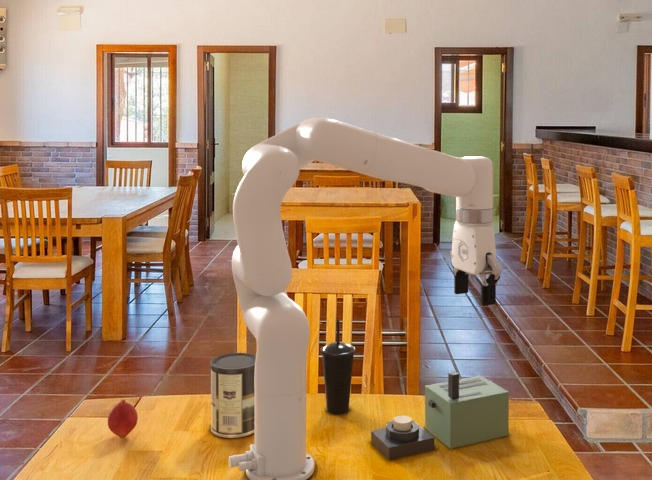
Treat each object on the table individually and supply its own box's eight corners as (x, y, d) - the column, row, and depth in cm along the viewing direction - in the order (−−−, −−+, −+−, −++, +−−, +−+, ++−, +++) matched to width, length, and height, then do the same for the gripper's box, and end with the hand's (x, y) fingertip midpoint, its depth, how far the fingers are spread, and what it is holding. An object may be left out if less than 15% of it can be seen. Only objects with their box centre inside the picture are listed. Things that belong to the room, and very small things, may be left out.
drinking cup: (351, 418, 152) (351, 326, 152) (316, 415, 154) (316, 324, 154) (358, 404, 160) (358, 316, 160) (325, 401, 161) (325, 314, 161)
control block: (389, 460, 134) (389, 439, 134) (371, 442, 142) (371, 422, 142) (434, 449, 138) (434, 429, 138) (414, 433, 146) (414, 413, 146)
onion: (101, 440, 142) (101, 400, 142) (123, 428, 148) (123, 390, 147) (122, 446, 140) (122, 406, 140) (143, 434, 145) (143, 396, 145)
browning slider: (452, 399, 140) (452, 375, 140) (448, 396, 142) (448, 372, 142) (459, 398, 141) (459, 374, 141) (454, 395, 142) (454, 371, 142)
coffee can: (253, 413, 155) (253, 349, 155) (265, 433, 145) (265, 365, 145) (206, 421, 151) (206, 355, 151) (214, 442, 142) (214, 372, 141)
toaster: (446, 449, 138) (446, 403, 138) (421, 429, 148) (421, 385, 147) (508, 435, 145) (508, 391, 145) (480, 416, 154) (480, 374, 154)
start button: (398, 433, 138) (398, 424, 138) (390, 426, 141) (390, 417, 141) (414, 430, 139) (414, 421, 139) (406, 422, 142) (406, 414, 142)
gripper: (437, 212, 152) (437, 291, 152) (483, 223, 137) (483, 311, 137) (466, 210, 155) (466, 287, 156) (515, 221, 140) (515, 307, 140)
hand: (474, 298), depth 146 cm, fingers open, 9 cm apart
